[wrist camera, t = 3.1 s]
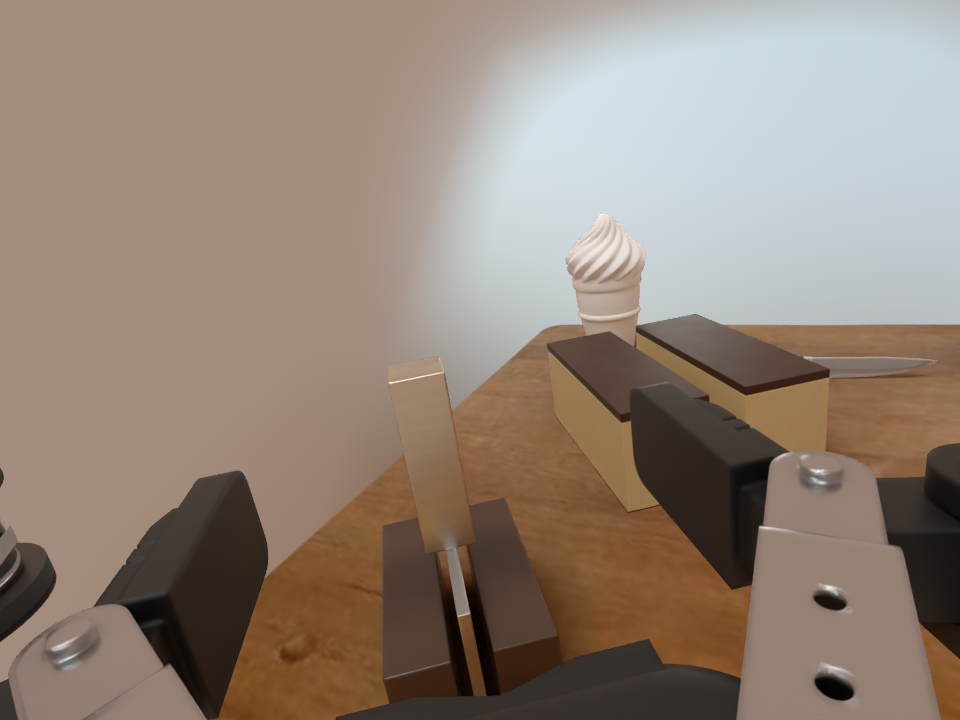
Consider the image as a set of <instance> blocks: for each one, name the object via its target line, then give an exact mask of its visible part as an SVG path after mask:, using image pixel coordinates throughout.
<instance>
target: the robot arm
mask: <svg viewBox="0 0 960 720" xmlns="http://www.w3.org/2000/svg"><path fill="white" fill-rule="evenodd" d="M629 405H630V418H631V431H632V445H633V457H634V463H635V467H636V470H637V473H638V476H639V478H640V480H641V482H642V483H643V485H644V486H645V487H646V489H647V490H648V491H649V492H650V493H651V494H652V496H653V497H654V498H655V499H656V500H657V502H658V503H659V504H660V505H661V506H662V507H663V509H664V510H665V511H666V512H667V513H668V515H669V516H670V517H671V518H672V519H673V520H674V522H675V523H676V524H677V525H678V526H679V528H680V529H681V530H682V531H683V532H684V534H685V535H686V536H687V537H688V538H689V539H690V541H691V542H692V543H693V544H694V545H695V547H696V548H697V549H698V550H699V551H700V552H701V554H702V555H703V556H704V557H705V558H706V560H707V561H708V562H709V563H710V564H711V565H712V567H713V568H714V569H715V570H716V571H717V573H718V574H719V575H720V576H721V577H722V578H723V580H724V581H725V582H726V583H727V584H728V586H729V587H730V588H731V589H736V588H741V587H745V586H749V585H752V590H751V599H750V607H749V616H748V625H747V633H746V642H745V650H744V659H743V667H742V676H741V679H740V678H738V677H735V676H733V675H730V674H726V673H723V672H719V671H716V670H712V669H707V668H702V667H697V666H691V665H680V664H663V663H662V661H661V660H660V658H659V656H658V654H657V653H656V651H655V649H654V647H653V646H652V644H651V642H650V640H649V639H647V640H643V641H639V642H635V643H631V644H627V645H623V646H619V647H615V648H611V649H607V650H603V651H599V652H595V653H591V654H587V655H583V656H579V657H575V658H573V659H571V660H569V661H567V662H565V663H563V664H561V665H559V666H557V667H556V668H554V669H552V670H550V671H548V672H546V673H544V674H542V675H540V676H538V677H536V678H534V679H532V680H530V681H528V682H526V683H525V684H523V685H521V686H519V687H517V688H515V689H513V690H511V691H509V692H507V693H504V694H501V695H497V696H461V697H415V698H411V699H407V700H403V701H399V702H395V703H391V704H387V705H383V706H379V707H375V708H371V709H367V710H363V711H359V712H355V713H351V714H347V715H343V716H339V717H336V720H941V719H940V714H939V710H938V705H937V701H936V696H935V692H934V687H933V683H932V678H931V674H930V670H929V665H928V661H927V656H926V652H925V647H924V643H923V638H922V634H921V629H920V625H919V622H920V623H921V624H922V625H923V626H924V627H925V628H926V629H927V630H928V631H929V632H930V633H931V634H932V635H934V636H935V637H936V638H937V639H938V640H939V641H940V642H941V643H943V644H944V645H945V646H946V647H947V648H948V649H949V650H950V651H951V652H953V653H954V654H955V655H956V656H957V657H958V658H959V659H960V443H957V444H948V445H943V446H939V447H937V448H934V449H933V450H931V451H930V452H929V453H928V456H927V463H926V472H925V477H909V478H876V477H875V475H874V473H873V472H872V471H871V469H869V468H868V467H867V466H866V465H864V464H863V463H861V462H859V461H857V460H855V459H853V458H850V457H847V456H844V455H841V454H837V453H832V452H826V451H816V450H802V451H793V452H789V451H788V450H786V449H785V448H783V447H782V446H780V445H779V444H777V443H776V442H774V441H773V440H771V439H770V438H768V437H767V436H765V435H764V434H762V433H761V432H759V431H758V430H756V429H755V428H750V425H749V424H747V423H746V422H744V421H743V420H741V419H737V418H736V416H735V415H733V414H732V413H730V412H729V411H727V410H726V409H724V408H723V407H721V406H720V405H716V404H713V403H710V402H707V401H703V400H700V399H692V398H691V397H689V396H688V395H686V394H685V393H683V392H682V391H681V390H679V389H678V388H676V387H675V386H673V385H672V384H671V383H669V382H663V383H658V384H653V385H649V386H644V387H639V388H634V389H632V390H631V392H630V396H629ZM3 479H4V476H3V472H2V470H1V469H0V487H1V485H2V483H3ZM17 542H18V540H17V538H16V536H15V534H14V532H13V530H12V529H11V526H9V528H8V529H7V530H5V528H4V526H3V524H2V522H1V520H0V595H2V594H3V593H4V592H5V591H6V590H7V589H8V588H9V587H10V586H11V585H12V584H13V583H14V582H15V581H16V579H17V578H18V577H19V575H20V574H21V572H22V570H23V566H24V561H23V559H22V557H21V555H20V553H19V551H18V549H17V548H15V547H14V546H15V545H16V543H17ZM267 566H268V548H267V542H266V538H265V534H264V531H263V528H262V525H261V522H260V519H259V516H258V513H257V510H256V507H255V503H254V500H253V497H252V494H251V491H250V488H249V486H248V482H247V480H246V478H245V476H244V474H243V473H242V472H241V471H233V472H229V473H224V474H218V475H214V476H209V477H204V478H199V479H198V480H197V481H196V482H195V484H194V485H193V487H192V488H191V490H190V491H189V493H188V494H187V496H186V497H185V499H184V500H183V502H182V503H181V504H180V506H179V507H178V508H176V509H172V510H171V511H170V512H169V513H167V514H166V515H165V516H164V517H162V518H161V519H160V520H159V521H157V522H156V523H155V524H154V525H152V526H151V527H150V528H149V530H148V531H147V532H146V534H145V535H144V537H143V538H142V539H141V541H140V542H139V544H138V545H137V549H134V551H133V552H132V553H131V555H130V556H129V558H128V559H127V560H126V565H123V566H122V567H121V569H120V570H119V572H118V573H117V574H116V576H115V577H114V579H113V580H112V581H111V583H110V584H109V586H108V587H107V588H106V590H105V591H104V592H103V594H102V595H101V597H100V598H99V599H98V601H97V602H96V604H95V605H94V607H92V608H89V609H86V610H83V611H81V612H78V613H76V614H73V615H71V616H69V617H67V618H65V619H63V620H61V621H60V622H58V623H56V624H54V625H53V626H51V627H50V628H48V629H47V630H45V631H44V632H42V633H41V634H40V635H38V636H37V637H36V638H34V639H33V640H32V641H31V642H30V643H29V644H28V645H27V646H26V647H25V648H24V649H23V650H22V651H21V652H20V653H19V654H18V656H17V657H16V658H15V660H14V661H13V663H12V665H11V667H10V669H9V673H8V676H9V677H8V679H7V680H5V681H3V682H1V683H0V720H210V719H214V718H218V716H219V713H220V710H221V707H222V704H223V701H224V698H225V695H226V692H227V689H228V686H229V683H230V680H231V677H232V673H233V670H234V667H235V664H236V661H237V658H238V655H239V652H240V649H241V646H242V643H243V640H244V637H245V634H246V631H247V628H248V625H249V622H250V619H251V616H252V613H253V610H254V607H255V604H256V601H257V598H258V595H259V592H260V589H261V586H262V583H263V580H264V577H265V574H266V570H267Z"/></svg>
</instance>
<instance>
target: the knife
mask: <svg viewBox="0 0 960 720" xmlns="http://www.w3.org/2000/svg"><path fill="white" fill-rule="evenodd" d="M802 358H804V359H807V360H809V361H812V362H814V363H817V364H819V365H822V366H824V367H826V368H829V369H830V377H829V378H847V377H868V376H880V375H890V374H897V373H904V372H908V371H912V370H916V369H919V368H923V367H927V366H930V365H933V364H934V363H936V362H937V361H936V360H929V359H919V358H900V357H802Z"/></svg>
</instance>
